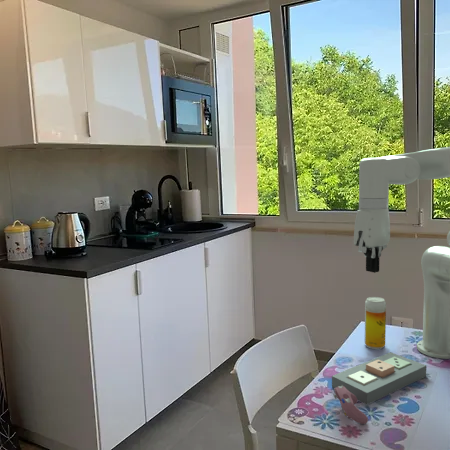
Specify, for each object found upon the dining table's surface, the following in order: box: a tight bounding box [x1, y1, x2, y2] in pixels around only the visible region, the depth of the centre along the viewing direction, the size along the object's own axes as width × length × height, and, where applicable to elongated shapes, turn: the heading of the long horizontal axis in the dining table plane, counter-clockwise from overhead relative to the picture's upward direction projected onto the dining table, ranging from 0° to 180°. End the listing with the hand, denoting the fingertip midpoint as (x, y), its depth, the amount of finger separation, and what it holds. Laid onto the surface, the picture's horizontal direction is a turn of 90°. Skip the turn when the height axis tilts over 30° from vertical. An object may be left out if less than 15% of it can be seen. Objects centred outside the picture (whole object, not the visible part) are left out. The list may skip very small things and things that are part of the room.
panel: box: [331, 352, 427, 406], centre depth 120 cm, size 24×11×3 cm, turn 124°
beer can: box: [364, 296, 387, 350], centre depth 142 cm, size 6×6×15 cm
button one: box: [348, 371, 377, 386], centre depth 116 cm, size 5×5×3 cm
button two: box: [366, 360, 394, 378], centre depth 120 cm, size 5×5×3 cm
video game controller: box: [333, 385, 369, 425], centre depth 105 cm, size 10×5×7 cm, turn 0°
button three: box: [383, 357, 411, 370], centre depth 124 cm, size 5×5×3 cm
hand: (372, 271), depth 126 cm, fingers closed
